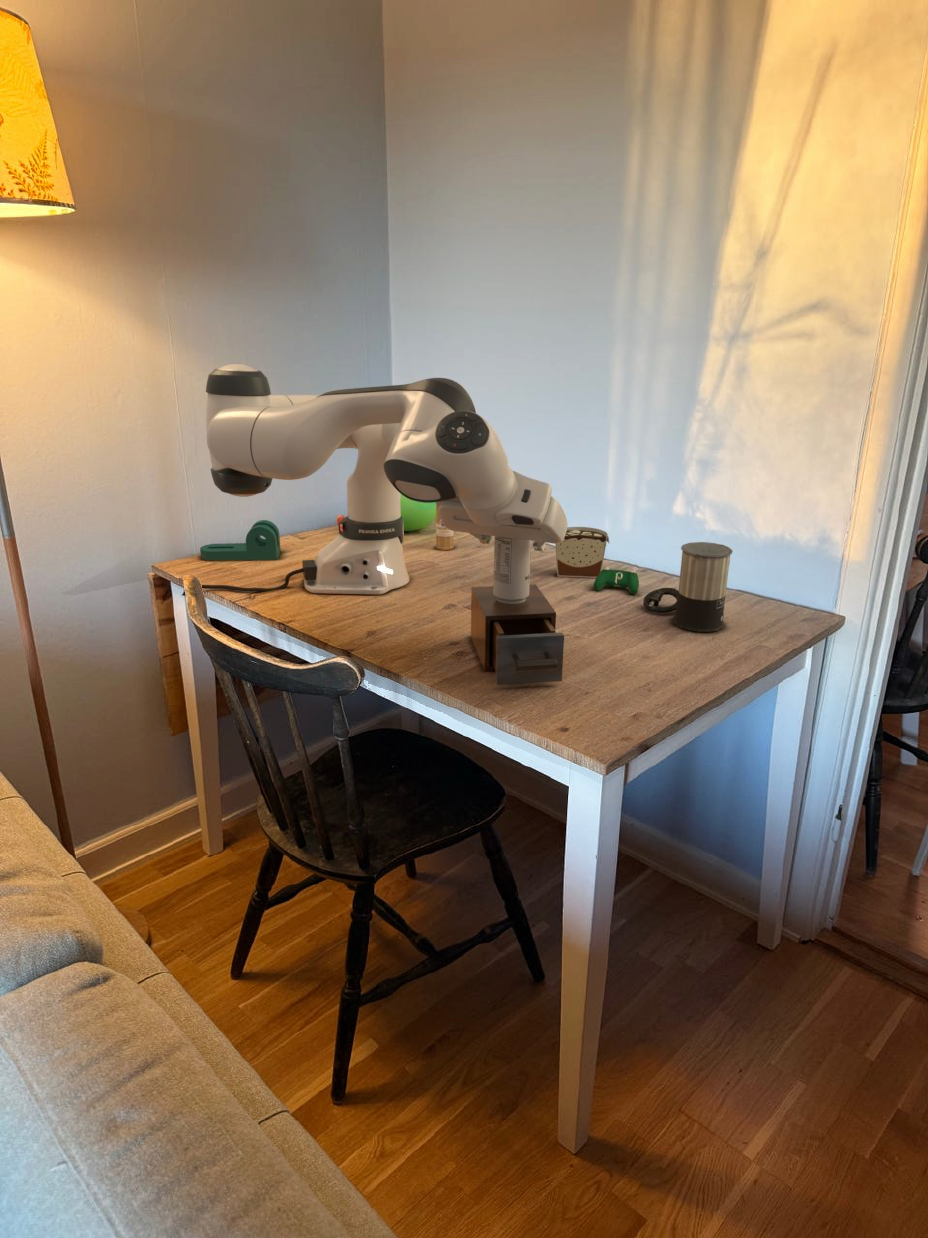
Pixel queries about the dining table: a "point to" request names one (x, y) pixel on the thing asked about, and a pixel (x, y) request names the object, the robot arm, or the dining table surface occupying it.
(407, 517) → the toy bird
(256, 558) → the bracket
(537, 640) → the drawer
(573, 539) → the food container
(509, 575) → the energy drink can
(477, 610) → the cabinet
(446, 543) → the sprinkles bottle
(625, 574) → the gaming controller
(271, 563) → the dining table surface
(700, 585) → the milk frother
